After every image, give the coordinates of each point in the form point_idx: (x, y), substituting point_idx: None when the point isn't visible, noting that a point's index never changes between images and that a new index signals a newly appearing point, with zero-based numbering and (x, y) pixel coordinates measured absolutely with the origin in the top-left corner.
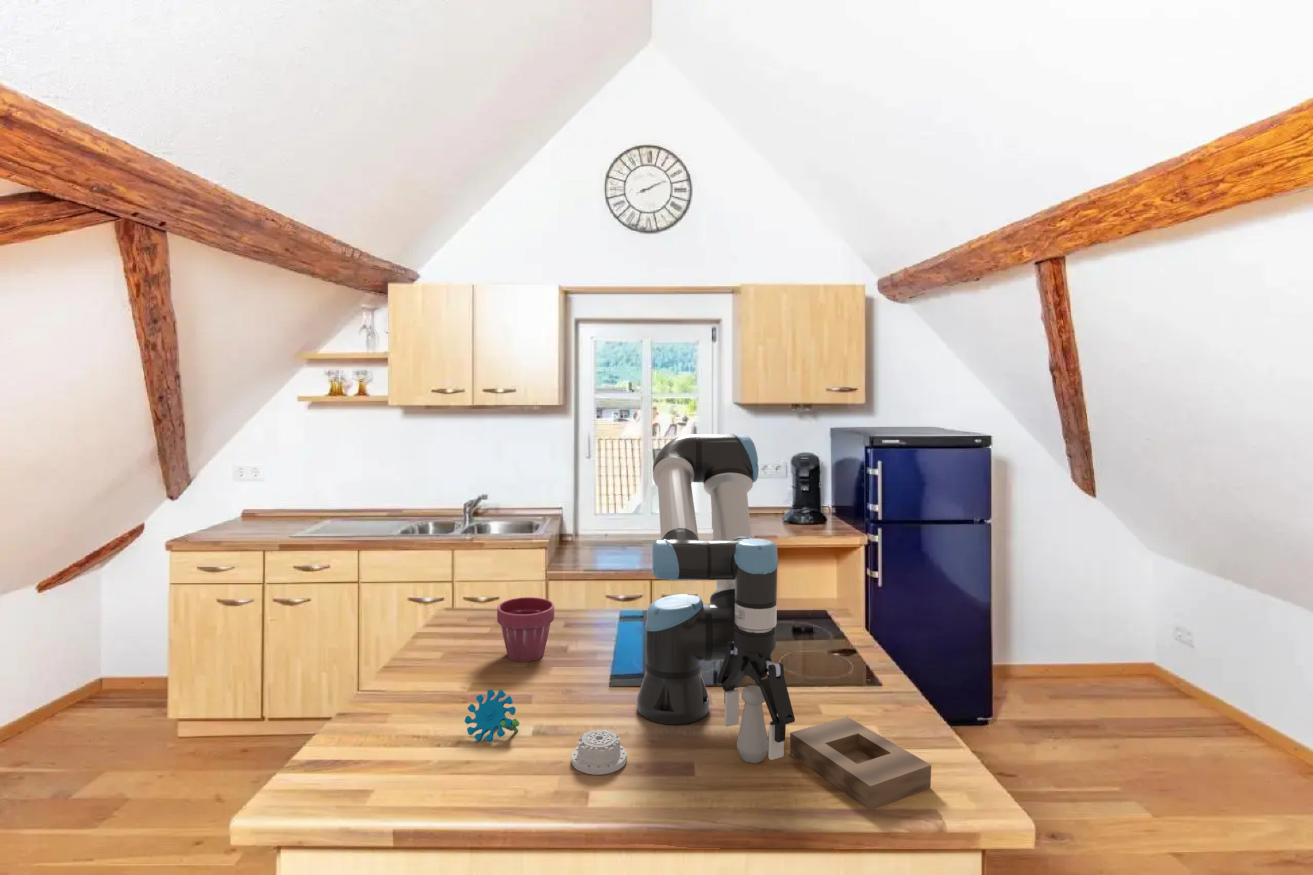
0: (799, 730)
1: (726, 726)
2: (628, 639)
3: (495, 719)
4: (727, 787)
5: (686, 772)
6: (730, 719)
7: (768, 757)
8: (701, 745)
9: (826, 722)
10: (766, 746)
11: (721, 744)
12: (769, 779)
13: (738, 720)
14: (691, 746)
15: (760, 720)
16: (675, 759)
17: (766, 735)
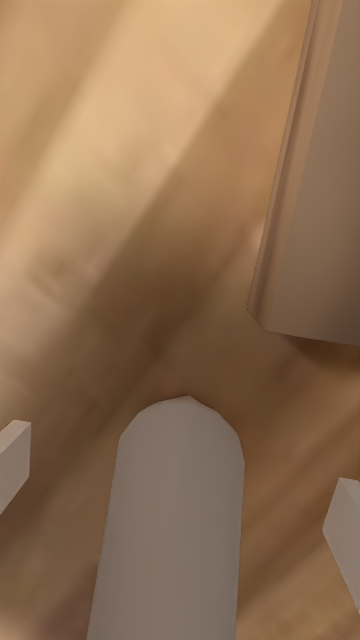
0: (285, 272)
1: (26, 477)
2: None
3: None
4: (255, 584)
5: None
6: (11, 484)
7: (324, 534)
8: (30, 493)
9: (338, 26)
10: (240, 456)
11: (57, 445)
12: (309, 480)
13: (21, 432)
14: (20, 517)
15: (235, 602)
16: (59, 588)
17: (237, 481)
